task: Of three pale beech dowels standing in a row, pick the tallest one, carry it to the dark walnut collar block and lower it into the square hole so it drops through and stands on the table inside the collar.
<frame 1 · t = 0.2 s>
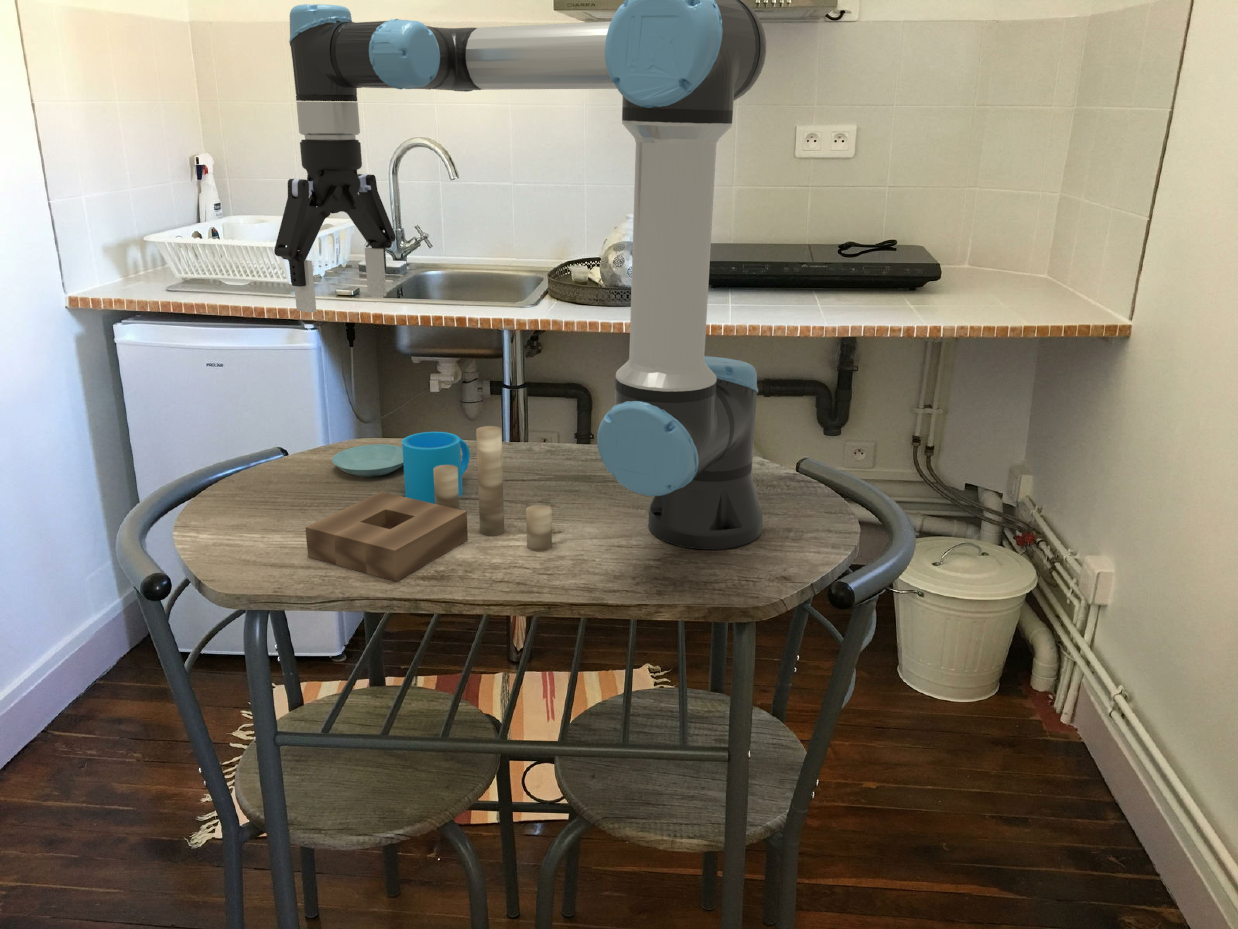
hand: (343, 303, 136), 28 cm above the table, fingers open, 13 cm apart
saucer: (372, 471, 156), on the table
dowel short: (539, 546, 129), on the table
dowel mid: (447, 517, 138), on the table
dowel long: (492, 530, 133), on the table
mug: (442, 491, 148), on the table
collar block: (389, 548, 128), on the table
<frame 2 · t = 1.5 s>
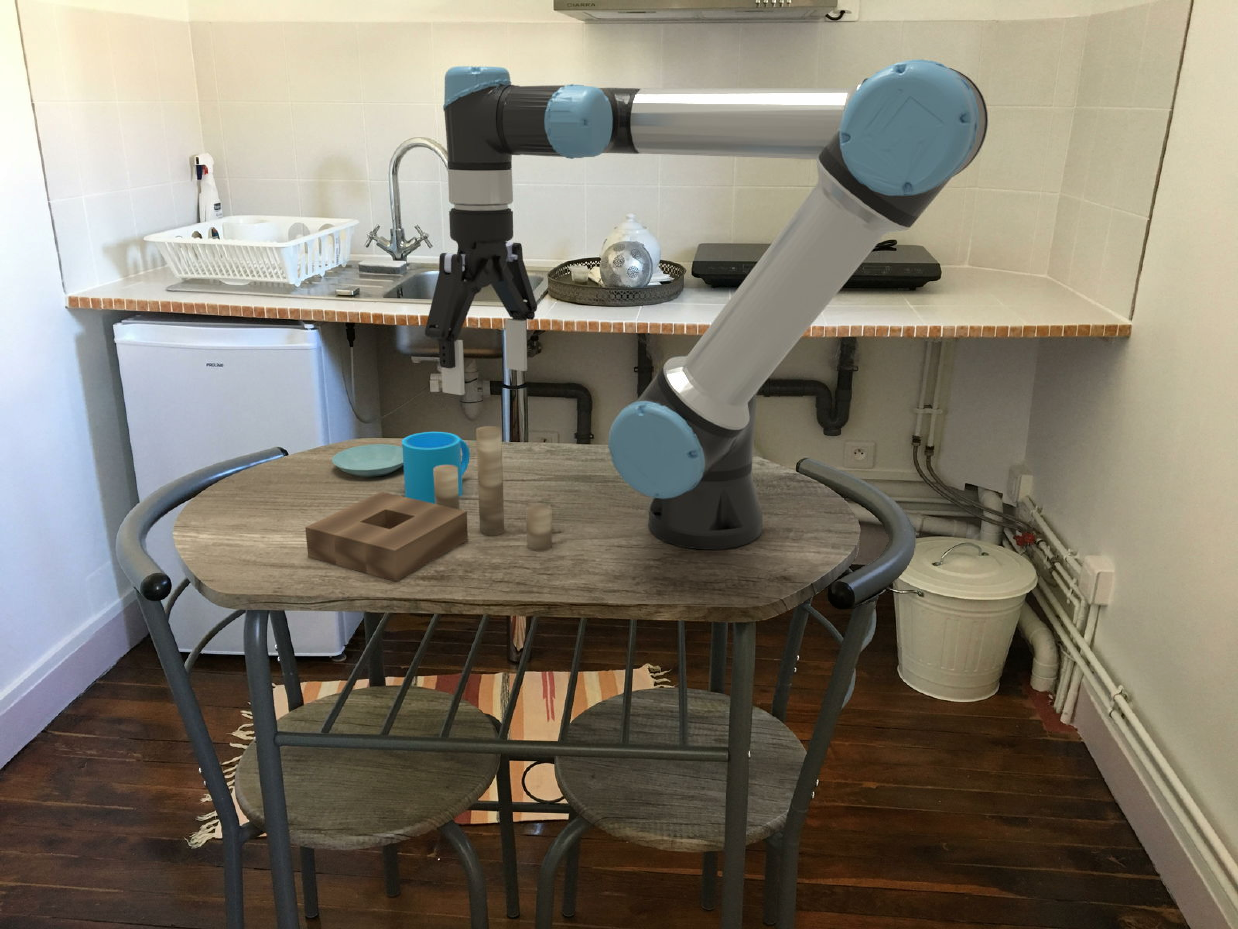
hand: (486, 380, 127), 20 cm above the table, fingers open, 13 cm apart
nothing on the table moved.
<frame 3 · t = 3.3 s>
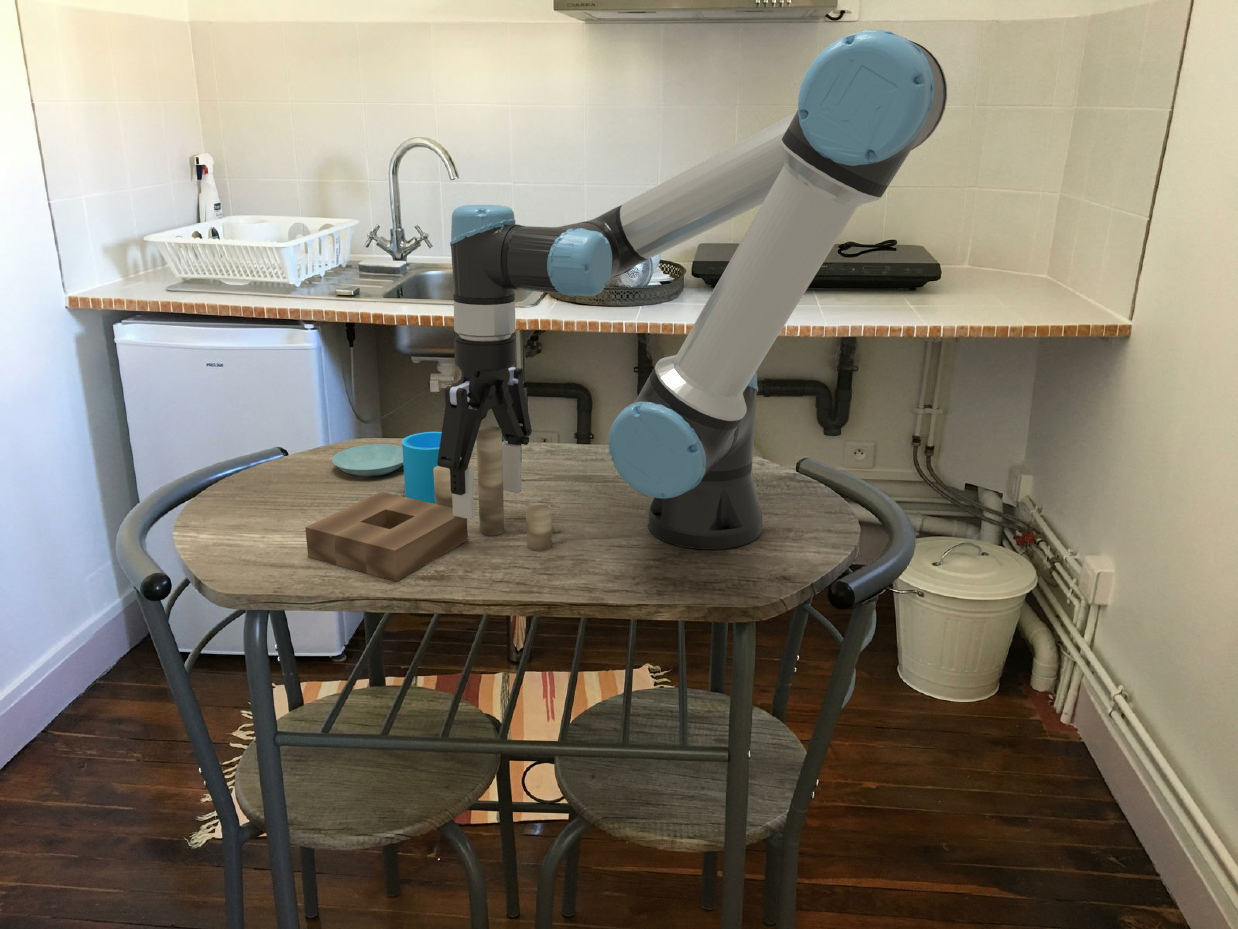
hand: (488, 503, 131), 4 cm above the table, fingers open, 10 cm apart
nothing on the table moved.
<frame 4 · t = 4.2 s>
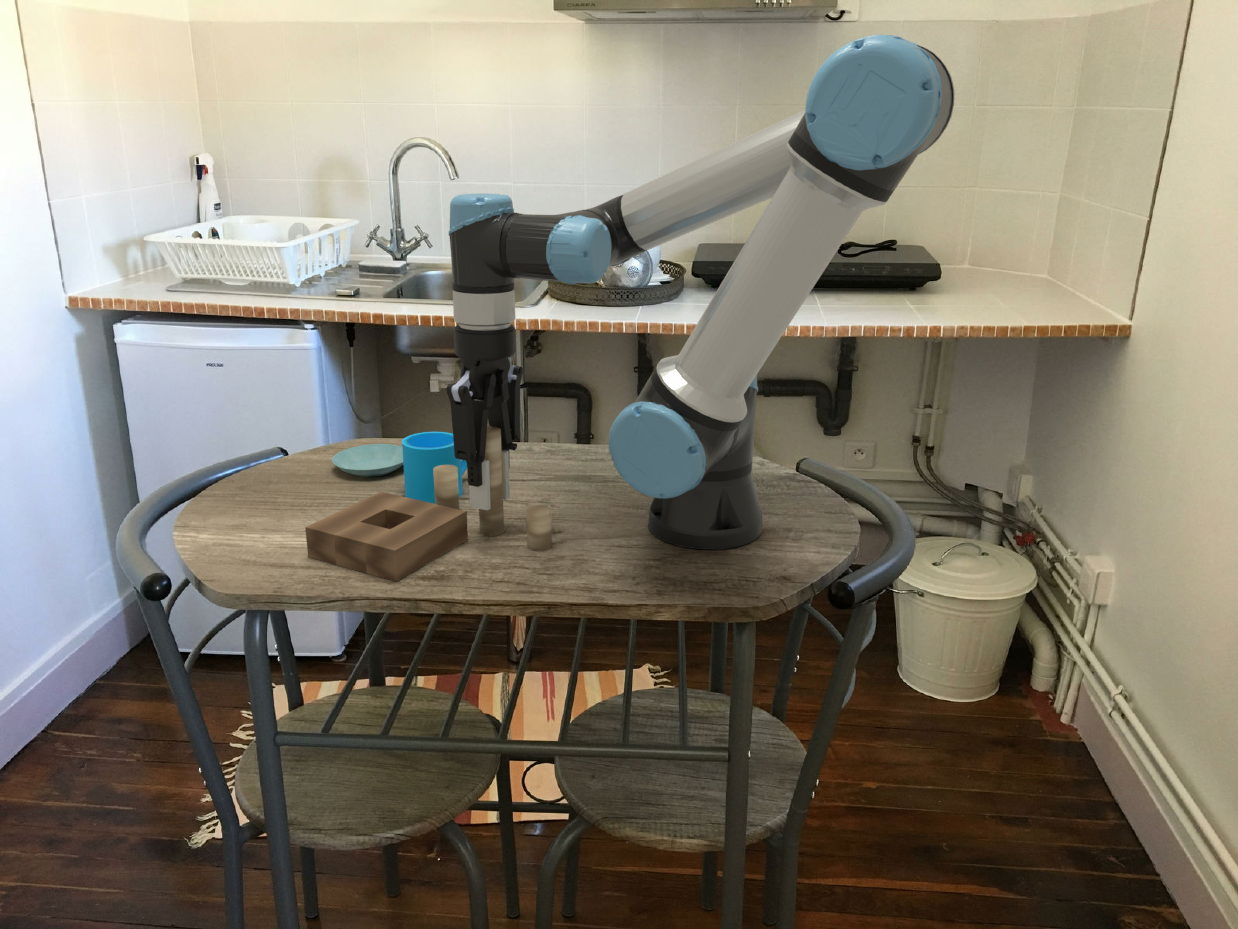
hand: (490, 502, 131), 4 cm above the table, fingers open, 4 cm apart
dowel long: (492, 531, 133), on the table, touching gripper
everything else where it was.
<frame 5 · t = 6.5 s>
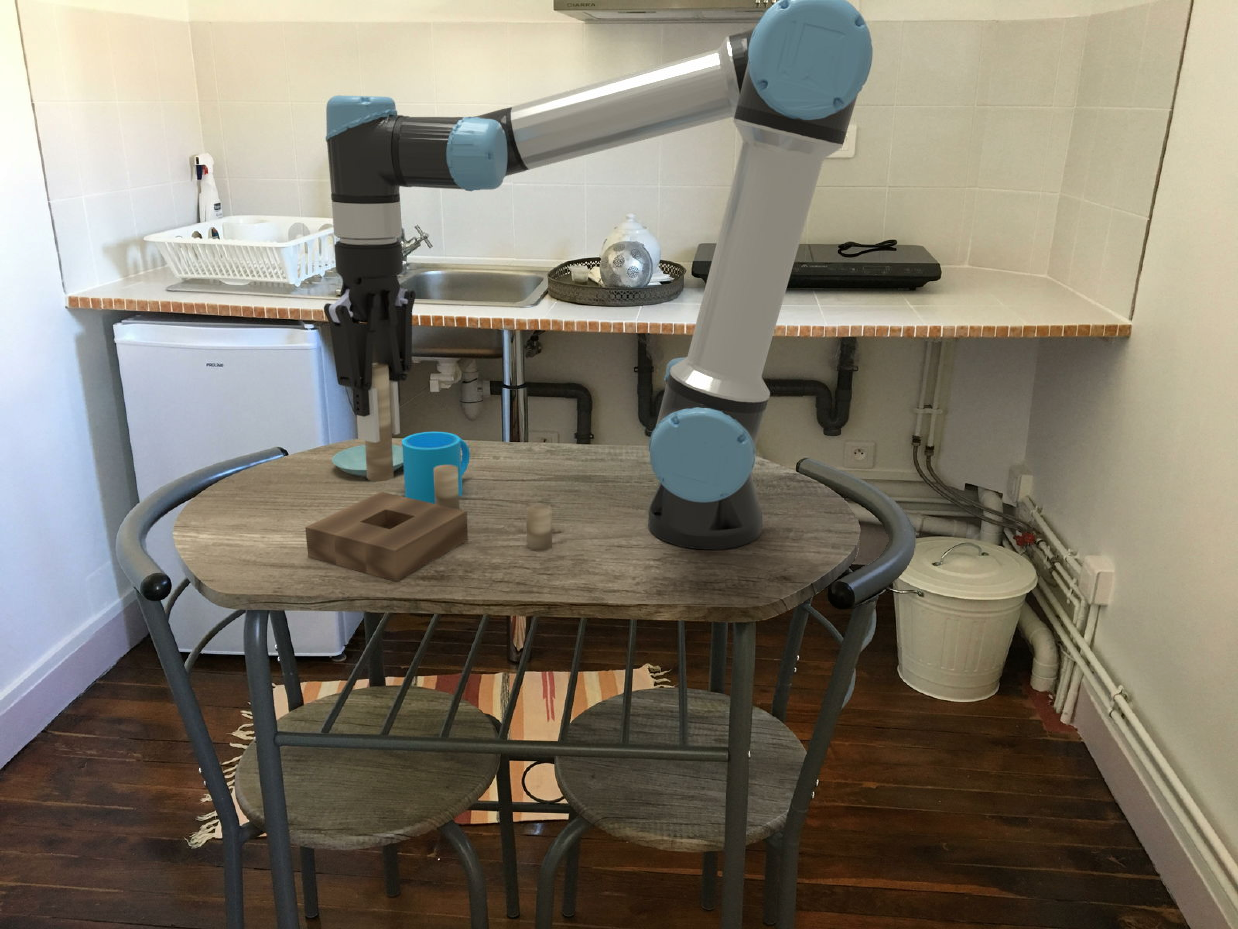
hand: (379, 435, 123), 15 cm above the table, fingers closed on dowel long, 3 cm apart
dowel long: (380, 476, 125), point 10 cm above the table, touching gripper
everything else where it was.
when the fingers open (5 cm above the table, at t = 8.4 s): dowel long stays where it is, resting in collar block.
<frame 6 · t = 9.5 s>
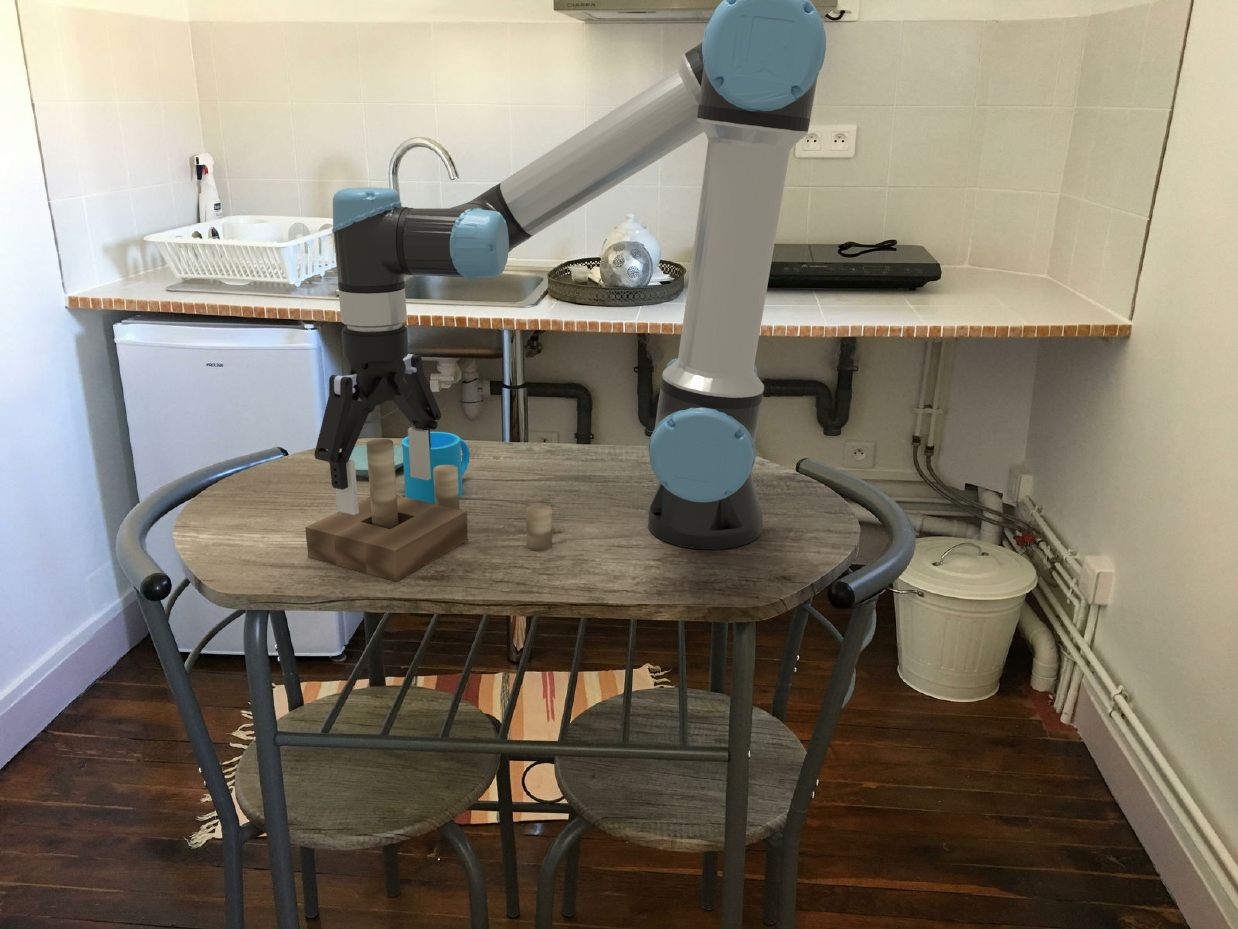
hand: (386, 494, 125), 7 cm above the table, fingers open, 13 cm apart
dowel long: (387, 547, 128), resting in collar block
everything else where it was.
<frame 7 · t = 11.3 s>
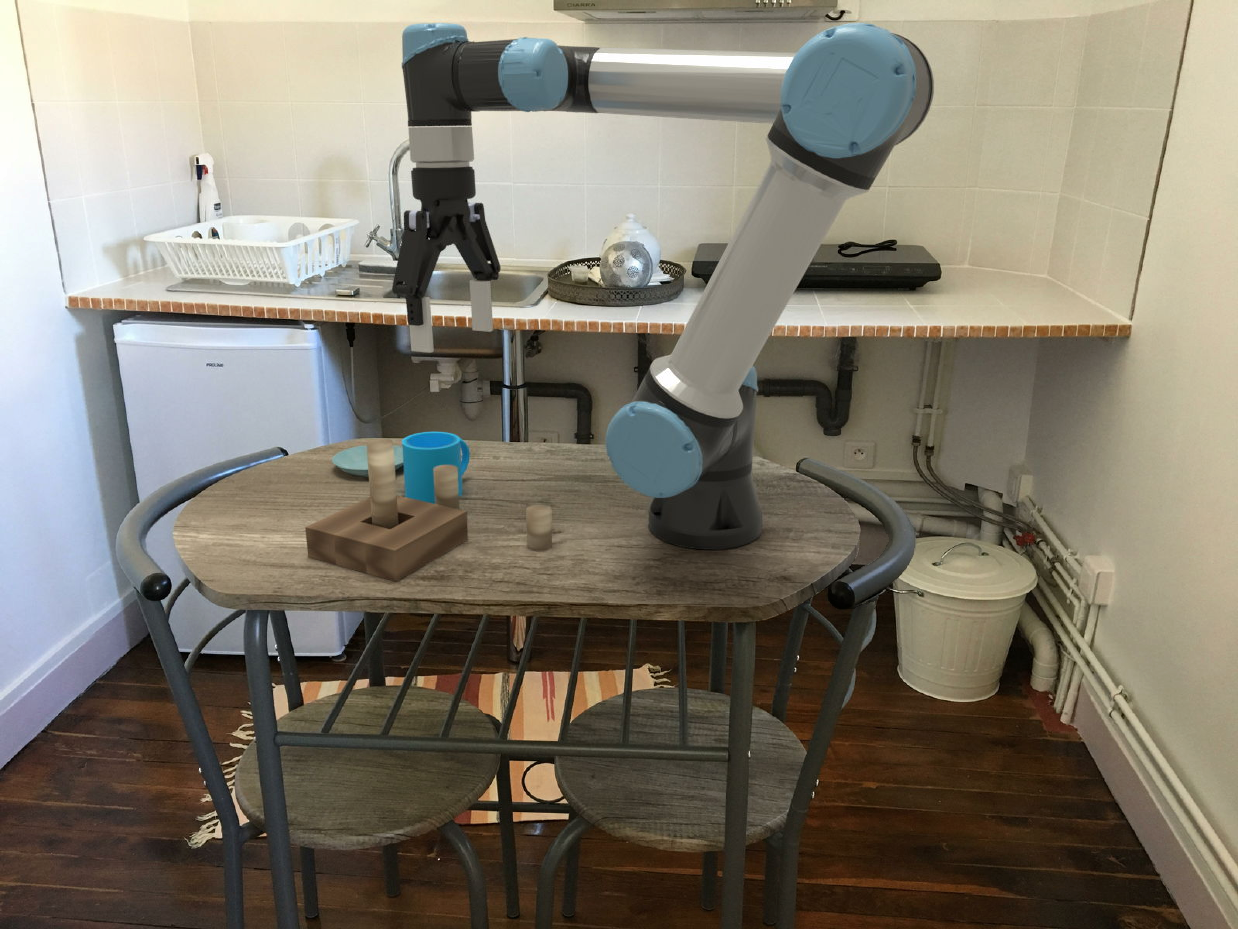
hand: (454, 340, 127), 25 cm above the table, fingers open, 13 cm apart
nothing on the table moved.
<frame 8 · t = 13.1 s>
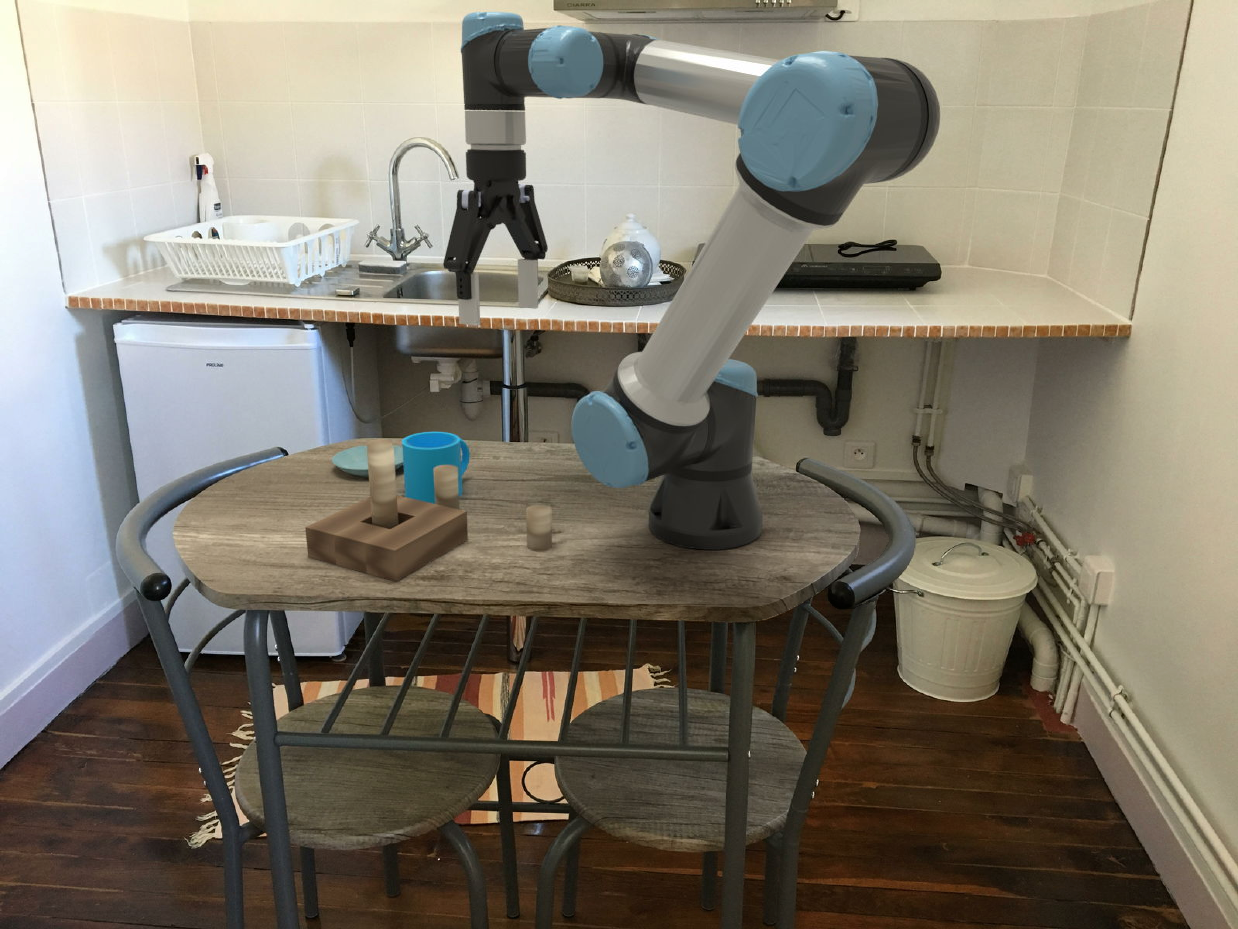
hand: (500, 315, 134), 27 cm above the table, fingers open, 13 cm apart
nothing on the table moved.
at the end: dowel long 0.4 cm off-centre on the collar block, point 0.0 cm above the collar block's base; dowel long tilted 0°; the gripper is holding nothing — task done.
